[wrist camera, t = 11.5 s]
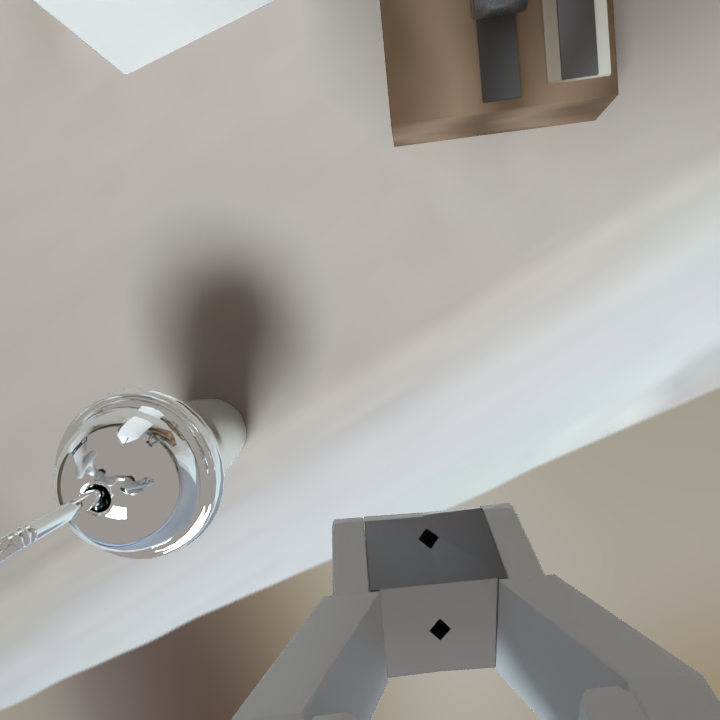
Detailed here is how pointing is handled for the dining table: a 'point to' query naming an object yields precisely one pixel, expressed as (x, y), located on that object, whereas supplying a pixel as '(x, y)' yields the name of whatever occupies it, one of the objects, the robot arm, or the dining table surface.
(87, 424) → the cup with straw
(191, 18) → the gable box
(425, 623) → the robot arm
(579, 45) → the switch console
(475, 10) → the lever
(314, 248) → the dining table surface
